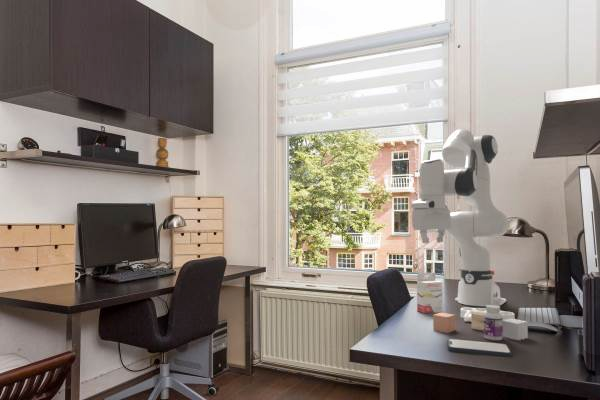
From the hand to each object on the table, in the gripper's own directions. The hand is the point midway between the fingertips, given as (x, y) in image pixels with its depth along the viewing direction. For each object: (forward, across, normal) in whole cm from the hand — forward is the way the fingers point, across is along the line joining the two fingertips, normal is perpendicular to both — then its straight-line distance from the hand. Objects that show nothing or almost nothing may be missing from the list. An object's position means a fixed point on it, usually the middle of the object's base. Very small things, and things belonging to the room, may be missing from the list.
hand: (432, 242), depth 155 cm
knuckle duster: (+28, -15, +12) cm, 34 cm away
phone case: (+28, +20, +26) cm, 44 cm away
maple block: (+28, -2, +16) cm, 32 cm away
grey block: (+28, 0, +28) cm, 39 cm away
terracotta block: (+28, +9, +9) cm, 30 cm away
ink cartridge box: (+28, -12, -9) cm, 32 cm away
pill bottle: (+28, +6, +24) cm, 37 cm away
